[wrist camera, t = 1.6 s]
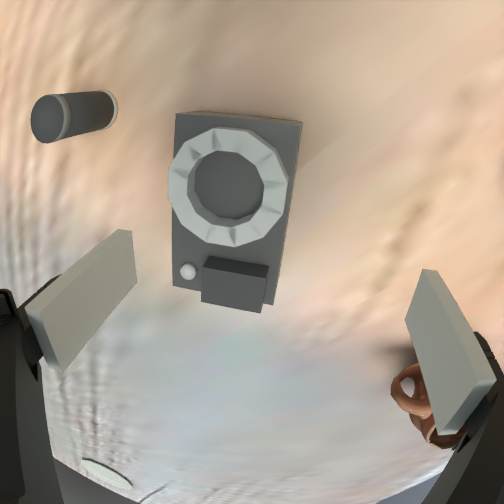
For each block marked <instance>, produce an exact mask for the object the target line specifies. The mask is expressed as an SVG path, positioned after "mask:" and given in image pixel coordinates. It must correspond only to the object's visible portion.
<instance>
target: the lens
mask: <svg viewBox="0 0 504 504" xmlns="http://www.w3.org/2000/svg"><path fill="white" fill-rule="evenodd" d="M117 114H118V103H117V100H116V98H115V97H114V95H113V94H112V93H110V92H108V91H93V92H78V93H66V94H51V95H45V96H43V97H41V98H40V99H39V100H38V101H37V102H36V103H35V105H34V107H33V109H32V113H31V128H32V132H33V134H34V136H35V137H36V139H37V140H38V141H40V142H42V143H52V142H56V141H59V140H61V139H65V138H68V137H72V136H76V135H80V134H84V133H88V132H92V131H96V130H103V129H106V128H108V127H110V126H111V125H112V124H113V123H114V121H115V120H116V117H117Z"/></svg>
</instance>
